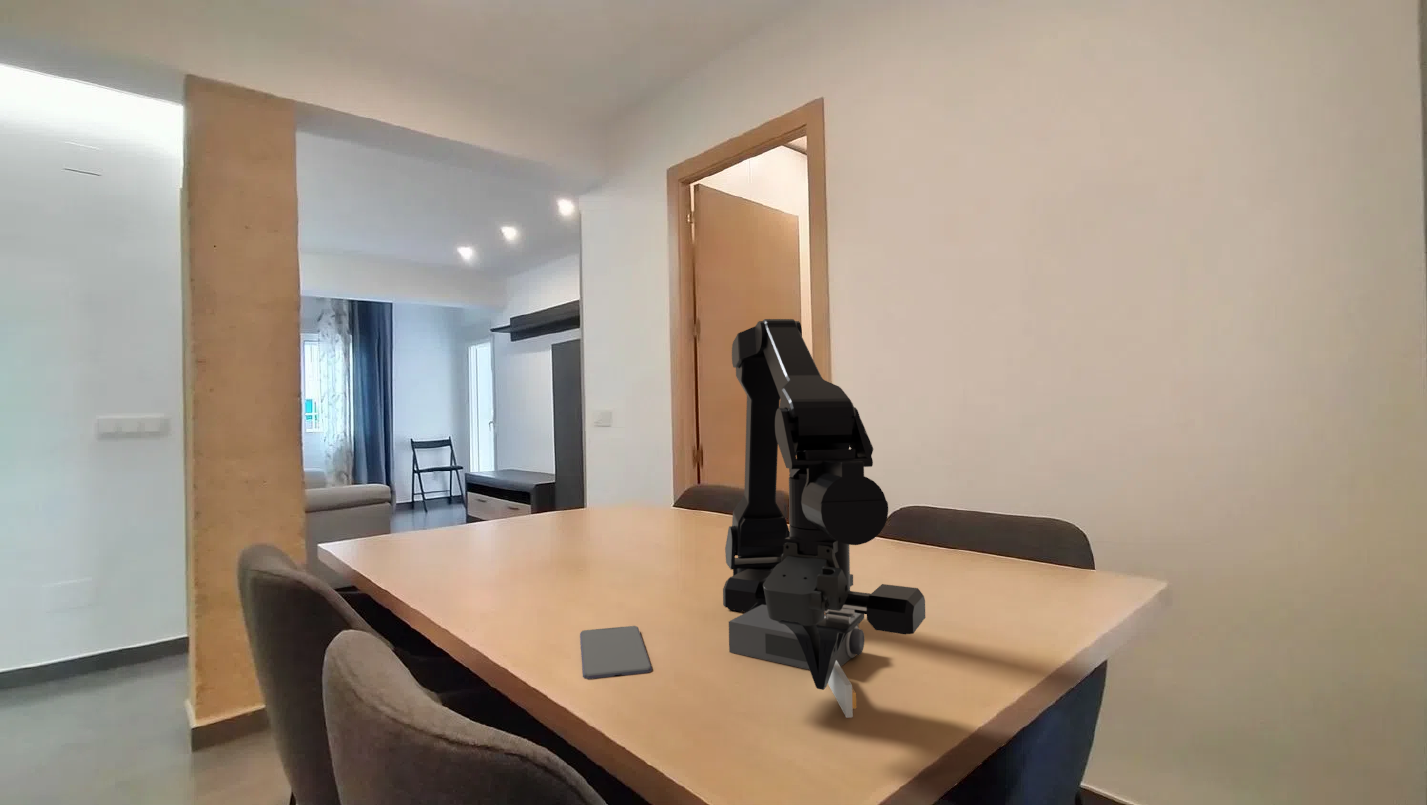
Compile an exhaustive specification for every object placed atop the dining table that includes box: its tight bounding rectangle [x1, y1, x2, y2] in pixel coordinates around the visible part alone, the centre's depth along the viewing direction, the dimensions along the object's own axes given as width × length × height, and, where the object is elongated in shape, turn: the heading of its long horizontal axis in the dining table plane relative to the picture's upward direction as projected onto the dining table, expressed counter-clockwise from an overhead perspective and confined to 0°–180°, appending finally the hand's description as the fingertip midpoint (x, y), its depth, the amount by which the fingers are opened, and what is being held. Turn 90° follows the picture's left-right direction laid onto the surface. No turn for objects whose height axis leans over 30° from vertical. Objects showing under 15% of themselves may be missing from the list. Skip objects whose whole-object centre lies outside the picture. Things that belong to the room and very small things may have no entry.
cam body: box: [728, 605, 865, 671], centre depth 76 cm, size 14×8×4 cm, turn 56°
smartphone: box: [579, 625, 653, 680], centre depth 77 cm, size 8×1×15 cm
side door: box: [827, 660, 857, 719], centre depth 64 cm, size 11×1×3 cm, turn 2°
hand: (821, 688), depth 62 cm, fingers closed
